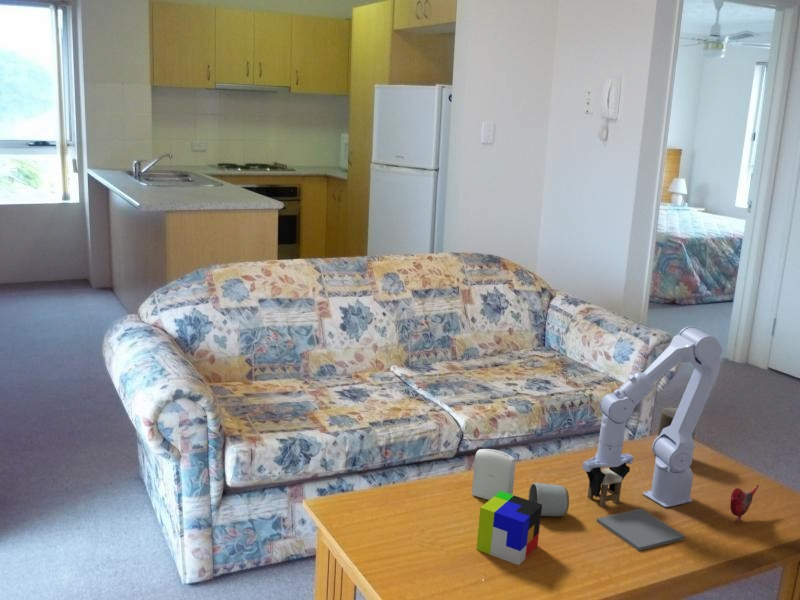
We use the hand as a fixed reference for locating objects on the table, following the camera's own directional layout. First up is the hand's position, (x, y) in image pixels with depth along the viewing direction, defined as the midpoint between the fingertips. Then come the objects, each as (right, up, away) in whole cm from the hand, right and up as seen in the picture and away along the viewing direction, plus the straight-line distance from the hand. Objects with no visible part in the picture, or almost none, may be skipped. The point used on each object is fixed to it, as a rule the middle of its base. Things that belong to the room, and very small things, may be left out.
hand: (604, 493), depth 206 cm
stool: (0, -2, 0) cm, 2 cm away
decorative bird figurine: (+32, -5, -4) cm, 33 cm away
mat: (+5, -5, -13) cm, 15 cm away
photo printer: (-28, -1, -2) cm, 28 cm away
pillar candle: (+27, +3, +29) cm, 39 cm away
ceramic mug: (-16, -3, -7) cm, 18 cm away
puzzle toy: (-27, -6, -25) cm, 37 cm away
